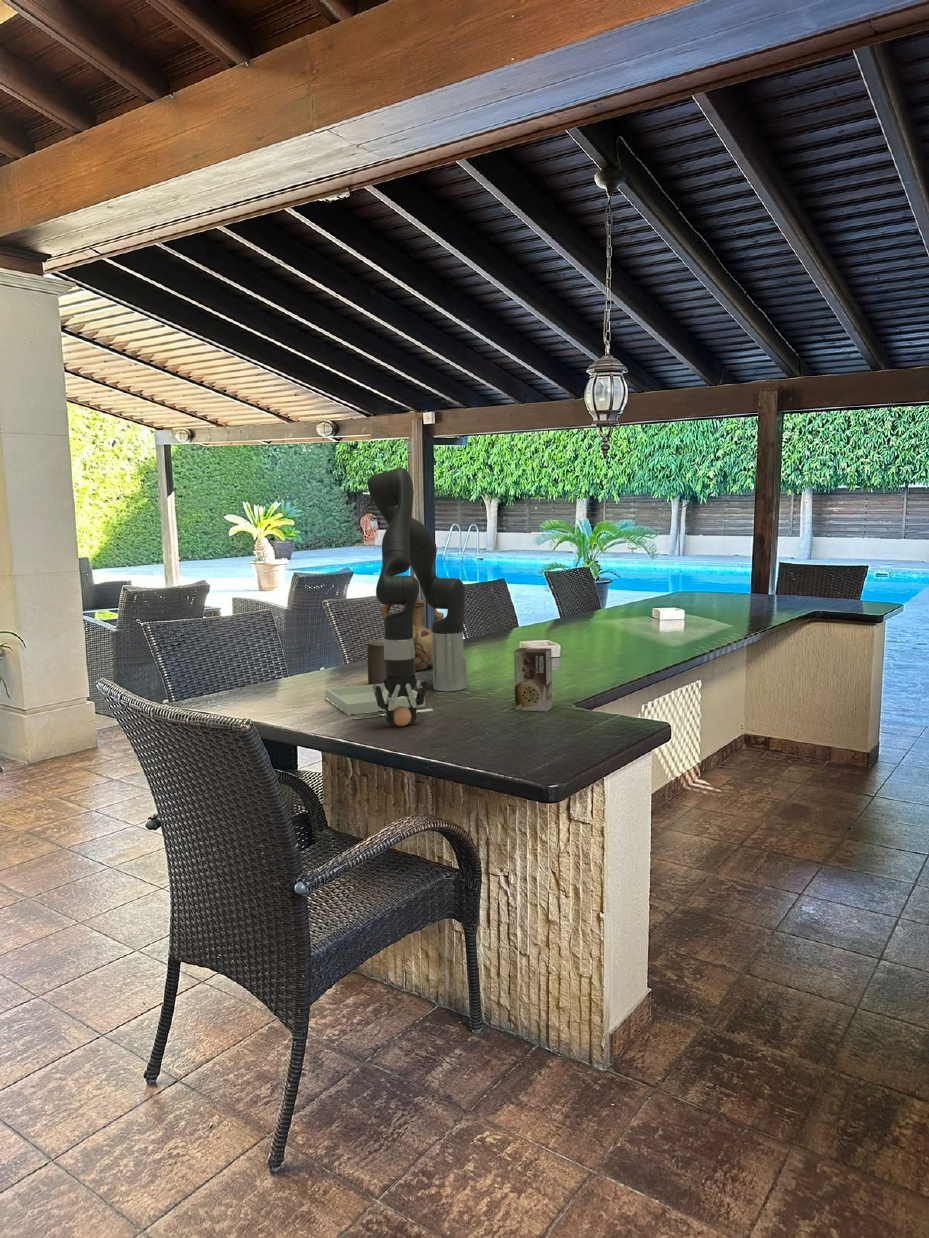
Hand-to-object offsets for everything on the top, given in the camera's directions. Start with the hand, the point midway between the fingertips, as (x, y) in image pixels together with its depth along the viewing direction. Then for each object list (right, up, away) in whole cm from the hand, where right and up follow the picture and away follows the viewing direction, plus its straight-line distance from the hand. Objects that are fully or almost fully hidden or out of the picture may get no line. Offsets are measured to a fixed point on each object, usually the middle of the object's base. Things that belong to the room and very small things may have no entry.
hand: (401, 722), depth 220 cm
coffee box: (+34, +2, +16) cm, 38 cm away
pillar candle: (-9, +5, +49) cm, 50 cm away
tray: (-9, +2, +26) cm, 28 cm away
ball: (0, +2, 0) cm, 2 cm away
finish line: (-3, +1, +12) cm, 12 cm away
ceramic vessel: (0, +9, +77) cm, 77 cm away
